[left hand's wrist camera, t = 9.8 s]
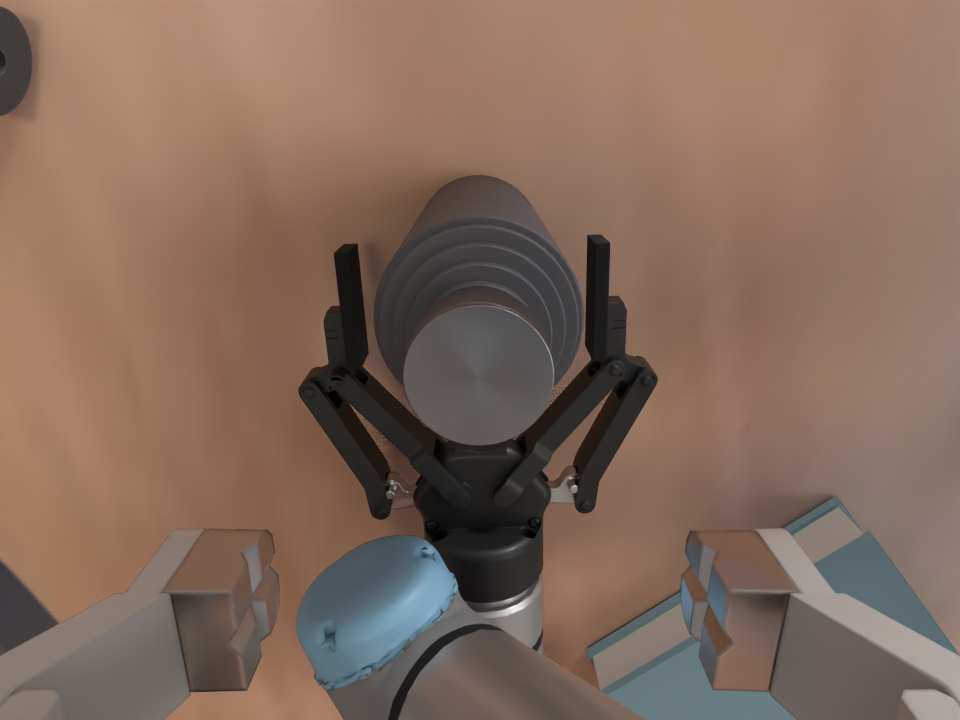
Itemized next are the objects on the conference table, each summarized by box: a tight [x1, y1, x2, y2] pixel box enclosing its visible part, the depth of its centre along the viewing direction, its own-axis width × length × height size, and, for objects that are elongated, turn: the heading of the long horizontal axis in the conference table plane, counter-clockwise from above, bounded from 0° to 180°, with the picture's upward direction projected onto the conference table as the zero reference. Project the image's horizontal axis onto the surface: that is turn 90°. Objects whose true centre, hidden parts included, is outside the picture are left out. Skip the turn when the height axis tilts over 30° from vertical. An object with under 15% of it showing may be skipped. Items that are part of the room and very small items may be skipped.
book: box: [586, 497, 960, 720], centre depth 50 cm, size 23×16×5 cm
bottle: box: [374, 176, 584, 387], centre depth 30 cm, size 8×8×24 cm
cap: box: [403, 288, 554, 446], centre depth 19 cm, size 4×4×2 cm
